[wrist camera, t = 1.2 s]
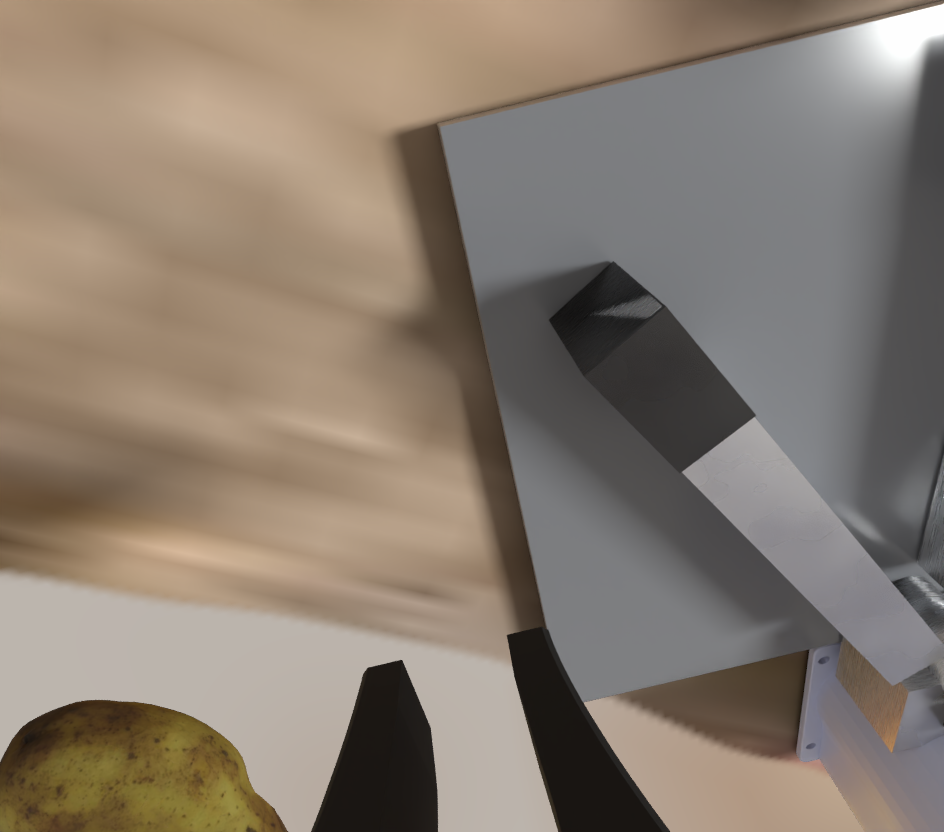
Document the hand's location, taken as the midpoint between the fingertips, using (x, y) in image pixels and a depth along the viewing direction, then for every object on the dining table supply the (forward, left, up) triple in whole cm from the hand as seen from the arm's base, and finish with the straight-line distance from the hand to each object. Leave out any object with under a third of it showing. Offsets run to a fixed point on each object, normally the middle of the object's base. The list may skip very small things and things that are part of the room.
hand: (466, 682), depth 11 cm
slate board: (-3, -12, -10) cm, 16 cm away
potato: (-14, +14, -10) cm, 23 cm away
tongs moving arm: (-4, -10, -9) cm, 14 cm away
